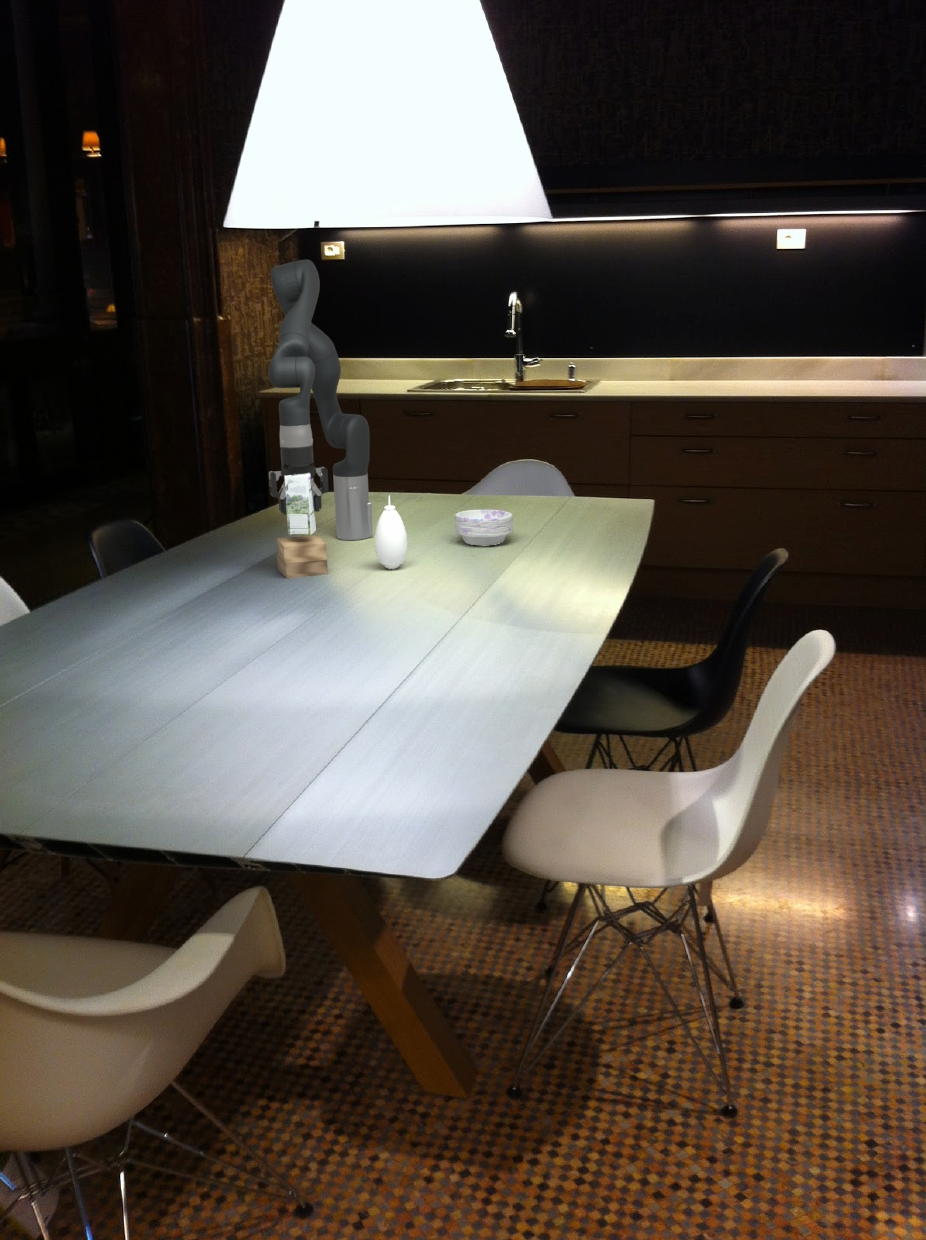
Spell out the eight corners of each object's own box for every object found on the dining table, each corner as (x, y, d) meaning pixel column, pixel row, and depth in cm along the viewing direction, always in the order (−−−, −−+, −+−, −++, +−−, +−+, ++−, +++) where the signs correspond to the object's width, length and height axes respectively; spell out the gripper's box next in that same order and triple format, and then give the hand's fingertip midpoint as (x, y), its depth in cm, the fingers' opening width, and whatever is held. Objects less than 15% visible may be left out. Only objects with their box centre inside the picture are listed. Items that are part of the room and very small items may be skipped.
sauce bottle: (403, 572, 277) (400, 498, 272) (372, 572, 279) (368, 497, 274) (411, 565, 284) (409, 492, 279) (380, 564, 286) (377, 492, 281)
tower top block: (318, 551, 285) (317, 535, 284) (326, 559, 276) (326, 543, 275) (277, 554, 282) (276, 538, 281) (285, 563, 273) (283, 546, 272)
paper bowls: (514, 536, 313) (514, 507, 311) (511, 549, 299) (510, 519, 296) (458, 536, 315) (457, 507, 312) (452, 549, 300) (451, 519, 298)
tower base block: (317, 566, 287) (316, 551, 286) (328, 575, 278) (327, 559, 277) (277, 571, 283) (276, 555, 282) (286, 580, 274) (285, 563, 273)
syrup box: (316, 530, 281) (313, 470, 276) (311, 535, 275) (307, 475, 271) (293, 530, 281) (289, 471, 277) (287, 535, 276) (283, 475, 271)
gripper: (321, 439, 278) (325, 507, 283) (262, 444, 273) (267, 512, 278) (330, 443, 271) (334, 512, 276) (269, 448, 266) (274, 518, 271)
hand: (300, 512), depth 277 cm, fingers closed on syrup box, 7 cm apart
